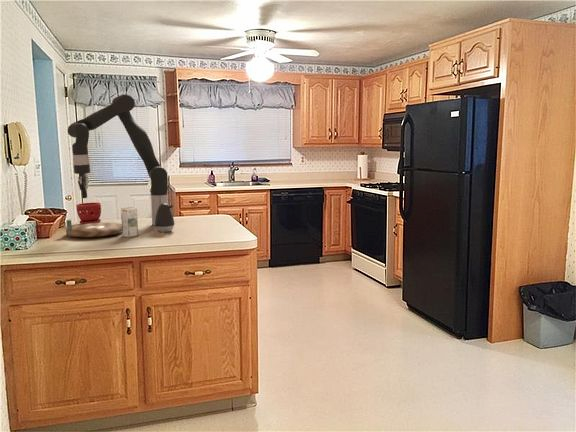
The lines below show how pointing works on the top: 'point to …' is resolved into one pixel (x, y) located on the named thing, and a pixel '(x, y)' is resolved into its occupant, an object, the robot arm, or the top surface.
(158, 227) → the pump dispenser
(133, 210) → the syrup box
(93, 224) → the disc
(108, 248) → the top surface
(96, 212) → the plant pot
